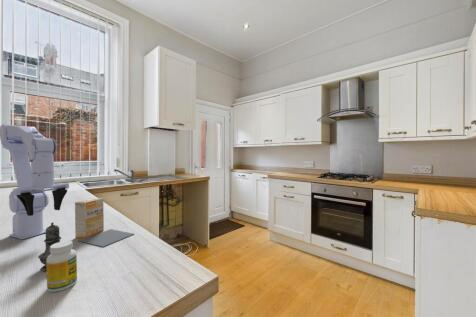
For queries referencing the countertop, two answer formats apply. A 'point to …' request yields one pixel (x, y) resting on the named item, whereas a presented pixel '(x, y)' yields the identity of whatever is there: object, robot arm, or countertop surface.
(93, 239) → the slate mat
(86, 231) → the supplement box
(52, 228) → the stone chess piece
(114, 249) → the countertop surface
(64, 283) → the supplement bottle
